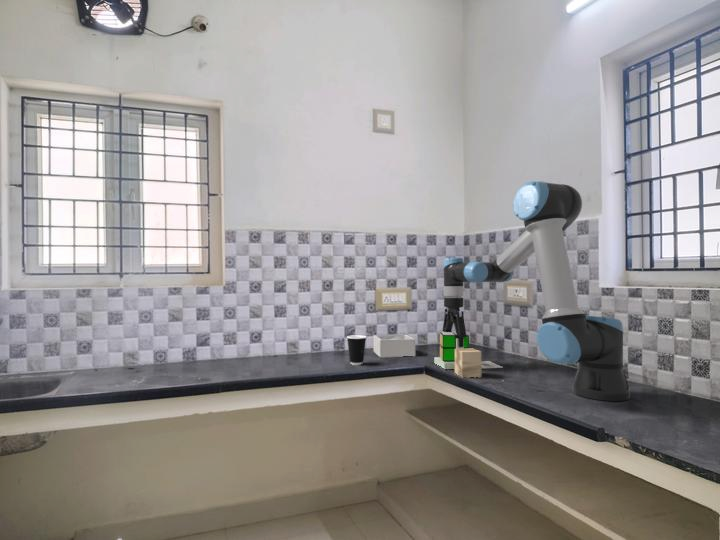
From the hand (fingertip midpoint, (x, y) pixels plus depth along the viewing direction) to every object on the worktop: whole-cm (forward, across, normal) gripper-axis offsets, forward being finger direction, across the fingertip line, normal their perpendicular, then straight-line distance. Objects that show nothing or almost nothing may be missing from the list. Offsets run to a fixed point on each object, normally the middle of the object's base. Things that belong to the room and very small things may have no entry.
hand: (453, 352), depth 172 cm
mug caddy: (+5, +30, +17) cm, 35 cm away
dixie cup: (+5, +10, +37) cm, 39 cm away
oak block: (+5, -16, +1) cm, 17 cm away
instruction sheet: (+5, 0, -13) cm, 14 cm away
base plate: (+5, 0, 0) cm, 5 cm away
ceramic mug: (+6, +28, +15) cm, 33 cm away
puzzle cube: (+3, 0, 0) cm, 3 cm away
